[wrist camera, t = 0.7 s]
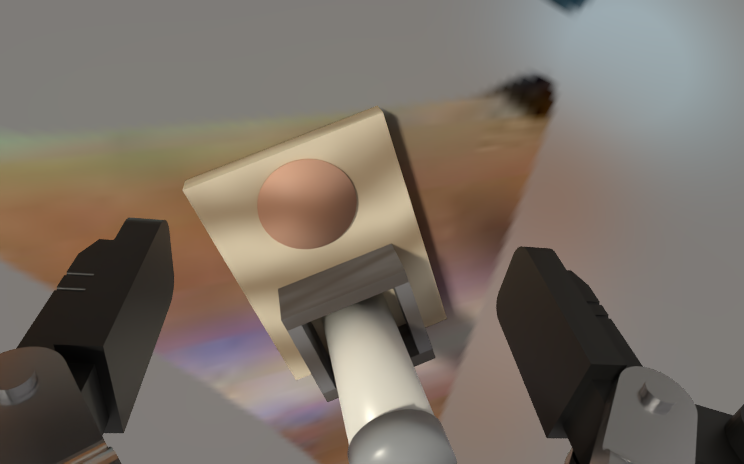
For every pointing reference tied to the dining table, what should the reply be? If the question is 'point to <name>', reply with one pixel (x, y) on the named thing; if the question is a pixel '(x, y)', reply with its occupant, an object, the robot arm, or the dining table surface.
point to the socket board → (322, 238)
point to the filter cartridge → (381, 390)
